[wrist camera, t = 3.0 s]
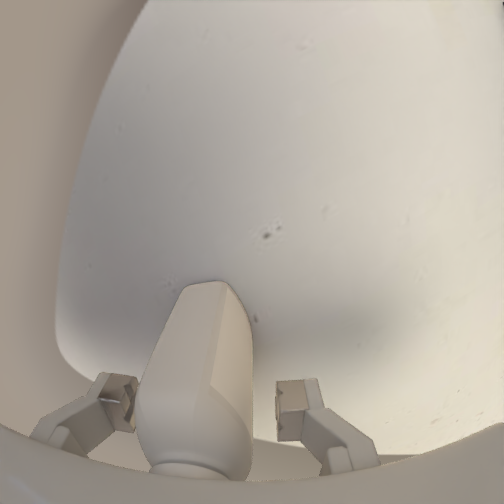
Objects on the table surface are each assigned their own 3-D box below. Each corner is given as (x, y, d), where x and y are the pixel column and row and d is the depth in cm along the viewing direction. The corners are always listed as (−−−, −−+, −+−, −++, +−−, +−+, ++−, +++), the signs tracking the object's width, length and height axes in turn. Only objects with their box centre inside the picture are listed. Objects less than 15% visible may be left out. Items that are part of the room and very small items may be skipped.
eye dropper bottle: (278, 294, 14) (320, 571, 3) (241, 378, 16) (233, 589, 4) (189, 266, 14) (67, 529, 2) (166, 356, 15) (97, 560, 4)
